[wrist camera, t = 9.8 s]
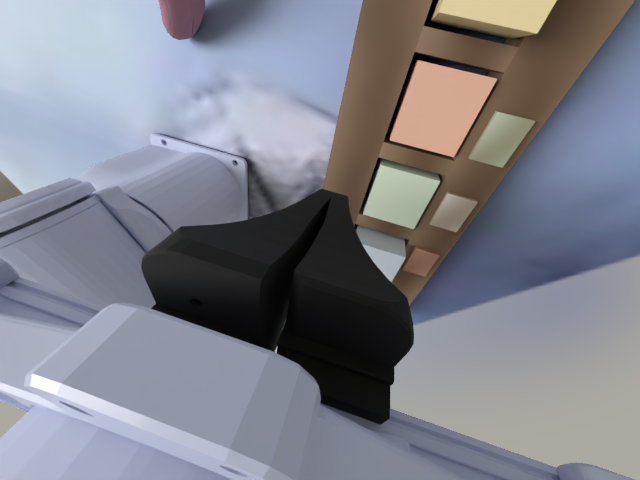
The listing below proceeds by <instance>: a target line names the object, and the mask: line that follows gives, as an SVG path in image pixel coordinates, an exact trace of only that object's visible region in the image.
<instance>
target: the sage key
mask: <svg viewBox="0 0 640 480" xmlns="http://www.w3.org/2000/svg"><path fill="white" fill-rule="evenodd" d="M439 183H440V179H439V176H438V174H437V173H434V172H430V171H427V170H423V169H419V168H416V167H412V166H408V165H405V164H401V163H397V162H394V161H390V160H386V159H383V158H380V160H379V163H378V166H377V169H376V171H375V174H374V177H373V180H372V183H371V186H370V188H369V191H368V194H367V197H366V201H365V206H364V211H363V215H366V216H370V217H373V218H377V219H380V220H384V221H387V222H390V223H394V224H397V225H401V226H404V227H407V228H411V229H414V228H415V226H416V224H417V223H418V221H419V219H420V217H421V215H422V214H423V212H424V210H425V208H426V206H427V205H428V203H429V201H430V199H431V197H432V196H433V194H434V192H435V190H436V188H437V187H438V185H439Z"/></svg>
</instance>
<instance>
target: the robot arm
mask: <svg viewBox="0 0 640 480" xmlns="http://www.w3.org/2000/svg"><path fill="white" fill-rule="evenodd" d="M150 141H151V145H150V146H147V147H144V148H141V149H138V150H135V151H132V152H129V153H127V154H124V155H121V156H118V157H115V158H112V159H109V160H106V161H103V162H100V163H97V164H95V165H93V166H91V167H89V168H87V169H86V170H85V171H84V172H82V173H81V174H80V176H79V177H78V178H77V179H72V178H68V179H65V180H62V181H59V182H57V183H54V184H51V185H48V186H45V187H42V188H40V189H37V190H34V191H31V192H29V193H26V194H23V195H20V196H18V197H15V198H12V199H9V200H6V201H4V202H1V203H0V401H1V402H4V403H6V404H8V405H11V406H13V407H16V408H18V409H20V410H23V411H25V412H27V413H26V414H25V415H24V416H23V417H22V418H21V419H20V420H19V421H18V422H17V423H16V424H15V425H14V426H13V427H12V428H11V429H10V430H8V431H7V432H6V433H5V434H4V435H3V437H1V438H0V480H634V479H632V478H629V477H626V476H623V475H620V474H617V473H614V472H611V471H609V470H606V469H603V468H600V467H597V466H594V465H589V464H583V463H569V464H564V465H560V466H558V467H557V468H556V467H553V466H550V465H547V464H544V463H541V462H539V461H536V460H533V459H530V458H527V457H525V456H522V455H519V454H516V453H514V452H511V451H508V450H505V449H502V448H499V447H497V446H494V445H491V444H488V443H485V442H483V441H480V440H477V439H474V438H471V437H469V436H466V435H463V434H460V433H457V432H454V431H452V430H449V429H446V428H443V427H440V426H437V425H435V424H432V423H429V422H426V421H423V420H421V419H418V418H415V417H412V416H409V415H407V414H404V413H401V412H398V411H395V410H393V409H390V385H392V384H393V382H394V367H395V366H396V365H397V363H398V362H399V361H400V360H401V359H402V358H403V357H404V356H405V355H406V354H407V353H408V352H409V350H410V349H411V347H412V345H413V341H414V340H413V339H414V332H413V321H412V317H411V312H410V307H409V303H408V299H407V297H406V296H405V295H404V294H403V293H402V292H401V291H400V290H399V289H398V288H397V287H396V286H395V285H394V284H393V283H392V282H391V281H390V280H389V279H388V278H387V277H386V276H385V275H384V274H383V273H382V272H381V270H380V269H379V268H378V267H377V266H376V264H375V263H374V262H373V260H372V259H371V258H370V256H369V255H368V253H367V252H366V250H365V248H364V247H363V245H362V243H361V241H360V239H359V237H358V234H357V232H356V229H355V227H354V224H353V221H352V217H351V213H350V208H349V198H348V196H346V195H342V194H339V193H335V192H332V191H329V190H325V189H320V190H318V191H317V192H315V193H313V194H312V195H310V196H308V197H307V198H305V199H303V200H301V201H299V202H298V203H295V204H293V205H291V206H289V207H287V208H285V209H282V210H280V211H277V212H274V213H271V214H268V215H265V216H261V217H257V218H252V219H248V173H247V162H246V160H245V159H244V158H241V157H238V156H234V155H231V154H227V153H224V152H220V151H217V150H213V149H210V148H206V147H203V146H199V145H196V144H192V143H189V142H185V141H182V140H178V139H175V138H171V137H168V136H164V135H160V134H157V133H152V134H150ZM165 141H166V142H165ZM166 143H167V144H166ZM235 160H236V161H237V163H238V164H236V163H235ZM285 320H286V322H285ZM284 323H285V324H284ZM283 326H284V327H283ZM281 331H282V332H281ZM276 345H277V346H278V348H277V353H275V352H274V350H275V348H276Z"/></svg>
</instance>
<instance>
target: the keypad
mask: <svg viewBox="0 0 640 480" xmlns="http://www.w3.org/2000/svg"><path fill="white" fill-rule="evenodd" d="M634 1H635V0H557V1H556V3H555V5H554V6H553V8H552V10H551V11H550V13H549V15H548V16H547V18H546V20H545V22H544V23H543V25H542V27H541V28H540V30H539V32H538V33H537V34H534V35H528V36H523V37H518V38H513V39H508V38H506V40H505V41H504V43H503V44H502V43H497V42H493V41H488V40H484V39H479V38H475V37H470V36H466V35H462V34H457V33H453V32H448V31H444V30H439V29H435V28H430V27H426V26H424V23H425V20H426V17H427V14H428V12H429V9H430V6H431V3H432V0H363V3H362V8H361V12H360V17H359V22H358V26H357V31H356V36H355V41H354V45H353V50H352V55H351V60H350V64H349V69H348V74H347V79H346V83H345V88H344V93H343V97H342V102H341V107H340V112H339V116H338V121H337V126H336V131H335V135H334V140H333V145H332V150H331V154H330V159H329V164H328V169H327V173H326V178H325V183H324V187H323V189H325V190H329V191H332V192H335V193H339V194H342V195H346V196H348V198H349V208H350V213H351V217H352V221H353V224H354V226H355V224H358V225H361V226H364V227H368V228H371V229H374V230H378V231H381V232H385V233H388V234H391V235H395V236H398V237H401V238H405V251H406V258H405V260H404V262H403V263H402V265H401V267H400V269H399V270H398V272H397V274H396V275H395V277H394V279H393V280H392V283H393V284H394V285H395V286H396V287H397V288H398V289H399V290H400V291H401V292H402V293H403V294H404V295H405V296H406V297H407V299H408V303H409V306H410V304H411V303H412V302H413V300H414V299H415V298H416V296H417V295H418V294H419V292H420V291H421V290H422V288H423V287H424V286H425V284H426V283H427V281H428V280H429V279H430V277H431V276H432V275H433V273H434V272H435V271H436V269H437V268H438V267H439V265H440V264H441V263H442V261H443V260H444V258H445V257H446V256H447V254H448V253H449V252H450V250H451V249H452V248H453V246H454V245H455V244H456V242H457V241H458V239H459V238H460V237H461V235H462V234H463V233H464V231H465V230H466V229H467V227H468V226H469V225H470V223H471V222H472V221H473V219H474V218H475V216H476V215H477V214H478V212H479V211H480V210H481V208H482V207H483V206H484V204H485V203H486V202H487V200H488V199H489V198H490V196H491V195H492V193H493V192H494V191H495V189H496V188H497V187H498V185H499V184H500V183H501V181H502V180H503V179H504V177H505V176H506V175H507V173H508V172H509V170H510V169H511V168H512V166H513V165H514V164H515V162H516V161H517V160H518V158H519V157H520V156H521V154H522V153H523V152H524V150H525V149H526V147H527V146H528V145H529V143H530V142H531V141H532V139H533V138H534V137H535V135H536V134H537V133H538V131H539V130H540V129H541V127H542V126H543V124H544V123H545V122H546V120H547V119H548V118H549V116H550V115H551V114H552V112H553V111H554V110H555V108H556V107H557V106H558V104H559V103H560V101H561V100H562V99H563V97H564V96H565V95H566V93H567V92H568V91H569V89H570V88H571V87H572V85H573V84H574V82H575V81H576V80H577V78H578V77H579V76H580V74H581V73H582V72H583V70H584V69H585V68H586V66H587V65H588V64H589V62H590V61H591V59H592V58H593V57H594V55H595V54H596V53H597V51H598V50H599V49H600V47H601V46H602V45H603V43H604V42H605V41H606V39H607V38H608V36H609V35H610V34H611V32H612V31H613V30H614V28H615V27H616V26H617V24H618V23H619V22H620V20H621V19H622V18H623V16H624V15H625V13H626V12H627V11H628V9H629V8H630V7H631V5H632V4H633V3H634ZM414 54H418V55H422V56H426V57H430V58H435V59H439V60H443V61H448V62H452V63H456V64H460V65H465V66H469V67H473V68H477V69H482V70H486V71H489V72H488V74H487V77H492V78H496V79H497V81H496V83H495V84H494V86H493V88H492V90H491V92H490V93H489V95H488V97H487V99H486V100H485V102H484V104H483V106H482V108H481V109H480V111H479V113H478V115H477V117H476V118H475V120H474V122H473V124H472V126H471V127H470V129H469V131H468V133H467V135H466V136H465V138H464V140H463V142H462V144H461V145H460V147H459V149H458V151H457V153H456V154H455V156H454V157H451V156H447V155H443V154H439V153H436V152H432V151H428V150H424V149H421V148H417V147H413V146H409V145H405V144H402V143H398V142H394V141H390V134H387V130H388V127H389V124H390V122H391V119H392V116H393V113H394V110H395V107H396V104H397V101H398V98H399V95H400V93H401V90H402V87H403V84H404V81H405V78H406V75H407V72H408V69H409V67H410V64H411V61H412V58H413V55H414ZM378 157H379V158H383V159H386V160H390V161H394V162H397V163H401V164H405V165H408V166H412V167H416V168H419V169H423V170H427V171H430V172H434V173H437V174H438V176H439V179H440V183H439V185H438V187H437V188H436V190H435V192H434V194H433V196H432V197H431V199H430V201H429V203H428V205H427V206H426V208H425V210H424V212H423V214H422V215H421V217H420V219H419V221H418V223H417V224H416V226H415V228H414V229H411V228H407V227H404V226H401V225H397V224H394V223H390V222H387V221H384V220H380V219H377V218H373V217H370V216H366V215H363V211H364V206H365V201H366V200H364V197H365V194H366V191H367V188H368V185H369V182H370V179H371V177H372V174H373V171H374V168H375V165H376V162H377V159H378Z"/></svg>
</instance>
